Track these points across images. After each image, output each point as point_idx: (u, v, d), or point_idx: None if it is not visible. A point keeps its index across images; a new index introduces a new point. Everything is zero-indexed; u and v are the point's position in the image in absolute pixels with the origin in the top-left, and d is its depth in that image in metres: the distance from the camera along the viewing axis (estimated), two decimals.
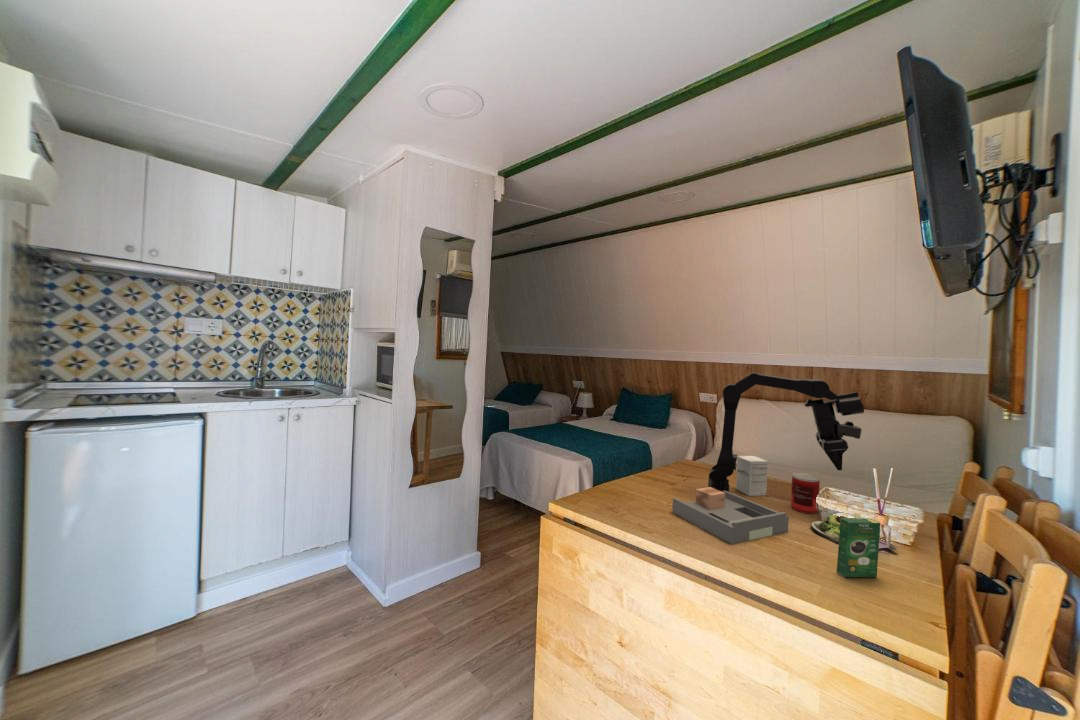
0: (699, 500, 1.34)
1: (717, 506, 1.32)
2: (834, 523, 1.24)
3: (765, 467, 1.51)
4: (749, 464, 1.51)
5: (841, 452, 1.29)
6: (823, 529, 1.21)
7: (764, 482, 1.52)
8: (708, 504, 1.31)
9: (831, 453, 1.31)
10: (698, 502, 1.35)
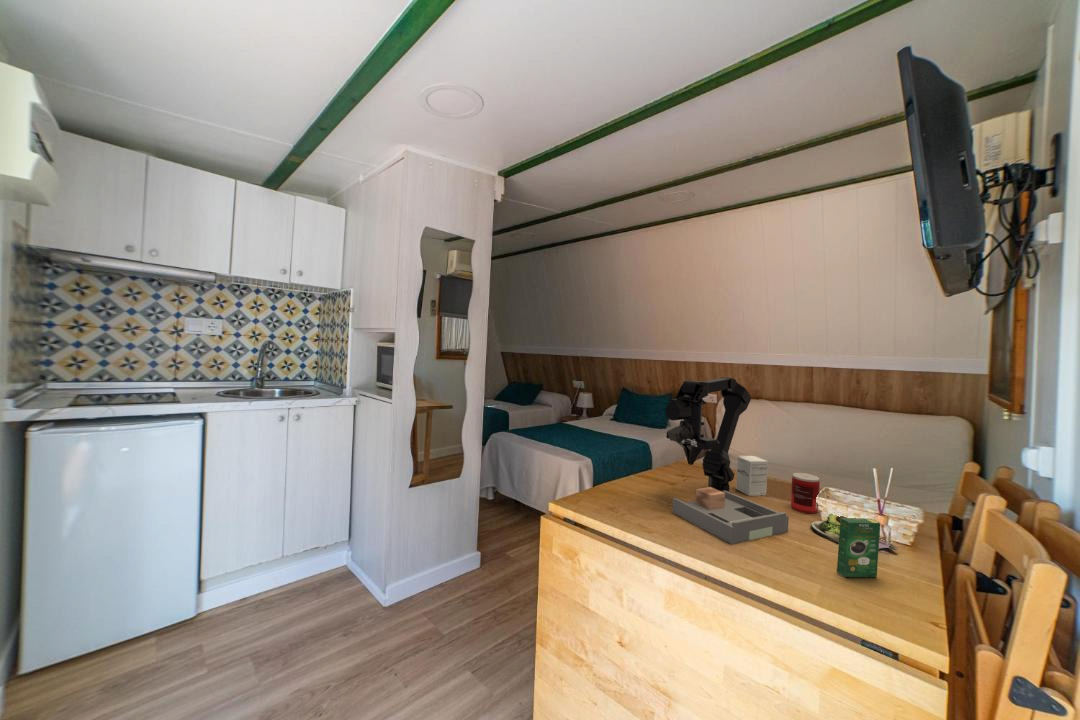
0: (699, 500, 1.34)
1: (717, 506, 1.32)
2: (834, 523, 1.24)
3: (765, 467, 1.51)
4: (749, 464, 1.51)
5: None
6: (823, 529, 1.21)
7: (764, 482, 1.52)
8: (708, 504, 1.31)
9: None
10: (698, 502, 1.35)
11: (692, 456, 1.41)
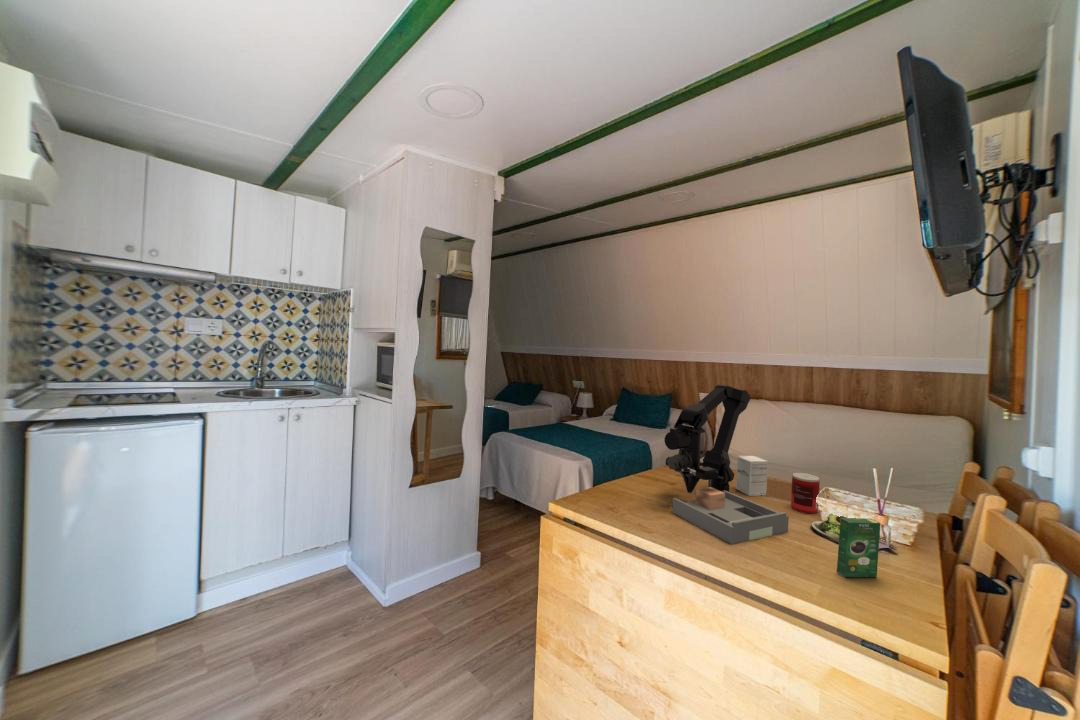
0: (699, 500, 1.34)
1: (717, 506, 1.32)
2: (834, 523, 1.24)
3: (765, 467, 1.51)
4: (749, 464, 1.51)
5: None
6: (823, 529, 1.21)
7: (764, 482, 1.52)
8: (708, 504, 1.31)
9: None
10: (698, 502, 1.35)
11: (691, 484, 1.41)
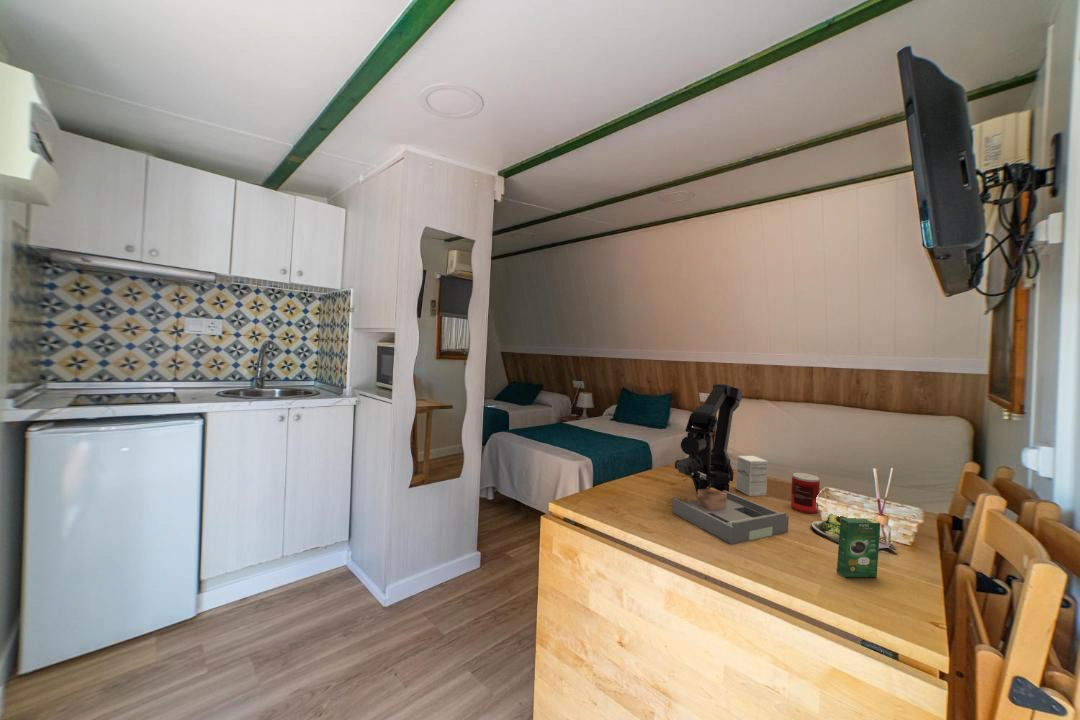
0: (700, 500, 1.34)
1: (719, 507, 1.31)
2: (834, 523, 1.24)
3: (765, 467, 1.51)
4: (749, 464, 1.51)
5: None
6: (823, 529, 1.21)
7: (764, 482, 1.52)
8: (709, 505, 1.30)
9: None
10: (699, 503, 1.34)
11: (701, 488, 1.37)
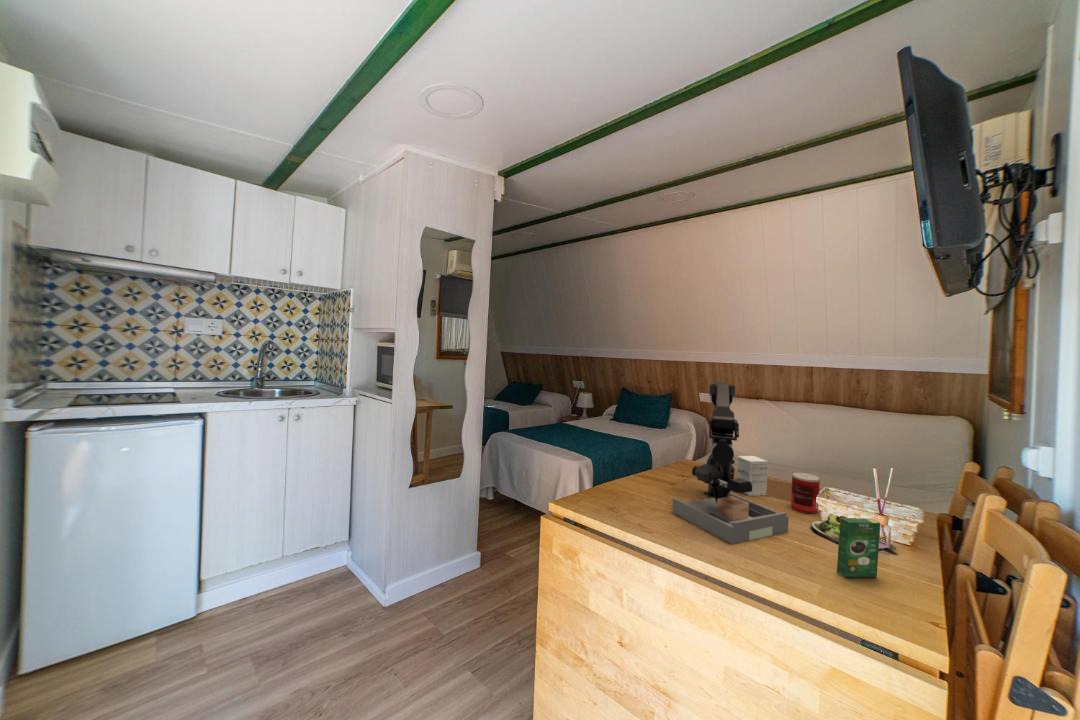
0: (720, 510, 1.26)
1: (740, 517, 1.23)
2: (834, 523, 1.24)
3: (765, 467, 1.51)
4: (749, 464, 1.51)
5: None
6: (823, 529, 1.21)
7: (764, 482, 1.52)
8: (731, 515, 1.23)
9: None
10: (719, 512, 1.27)
11: (721, 497, 1.29)
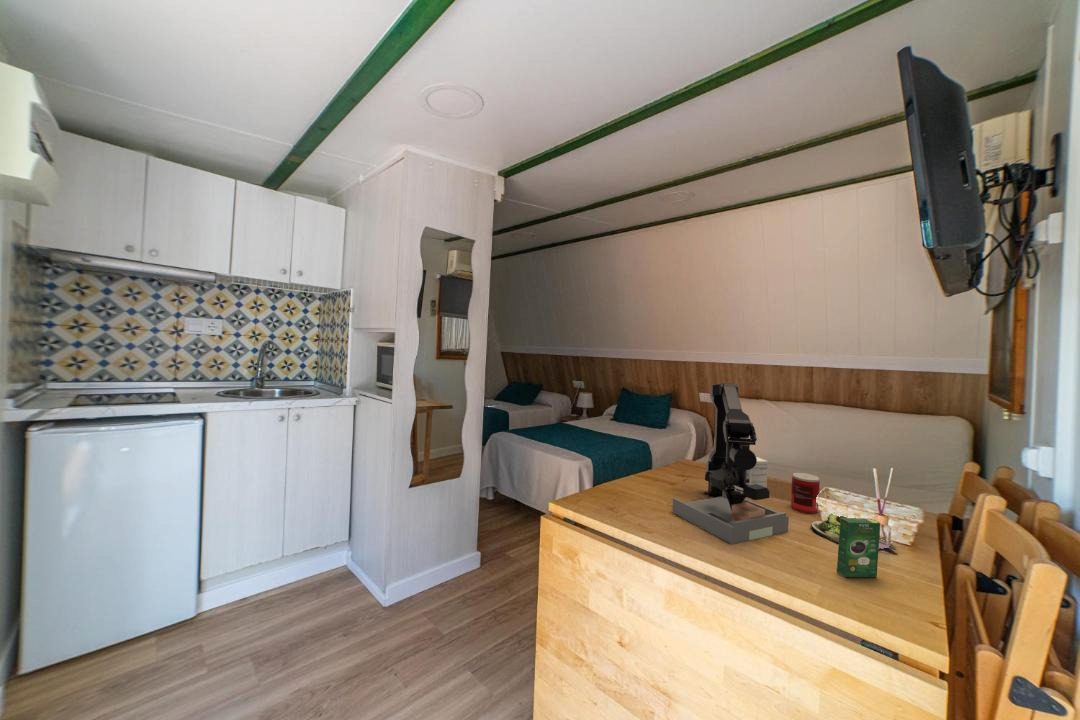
0: (735, 517, 1.21)
1: None
2: (834, 523, 1.24)
3: (765, 467, 1.51)
4: None
5: None
6: (823, 529, 1.21)
7: (764, 482, 1.52)
8: None
9: None
10: (734, 519, 1.22)
11: (736, 503, 1.24)
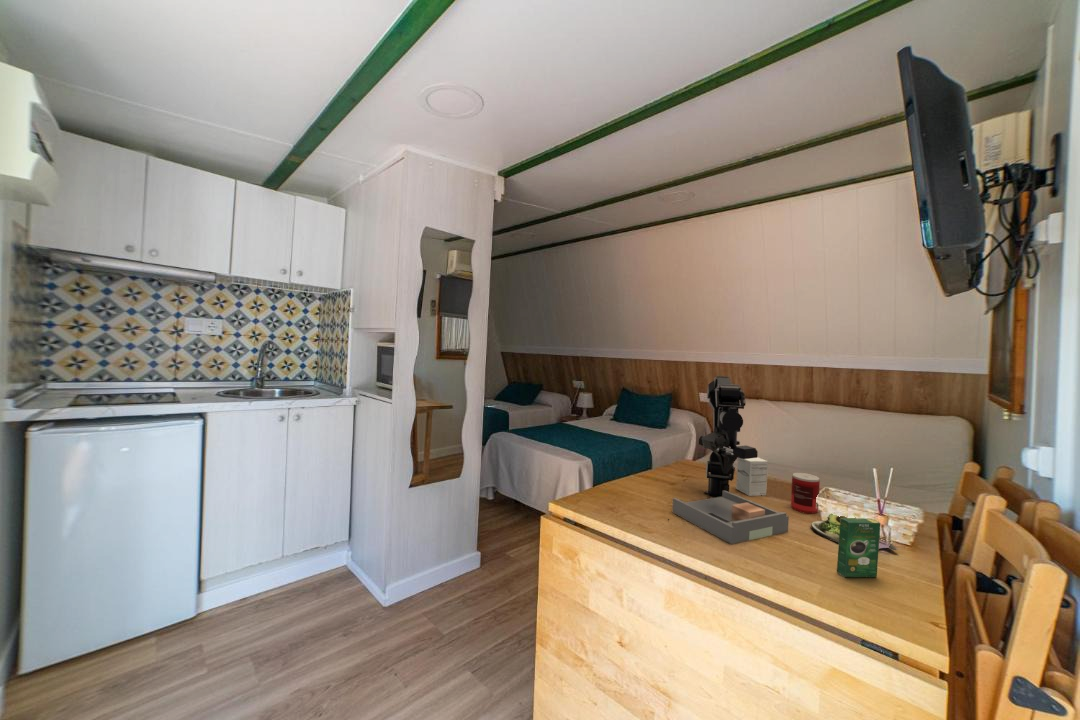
0: (735, 517, 1.21)
1: None
2: (834, 523, 1.24)
3: (765, 467, 1.51)
4: (749, 464, 1.51)
5: None
6: (823, 529, 1.21)
7: (764, 482, 1.52)
8: None
9: None
10: (734, 519, 1.22)
11: (727, 464, 1.33)
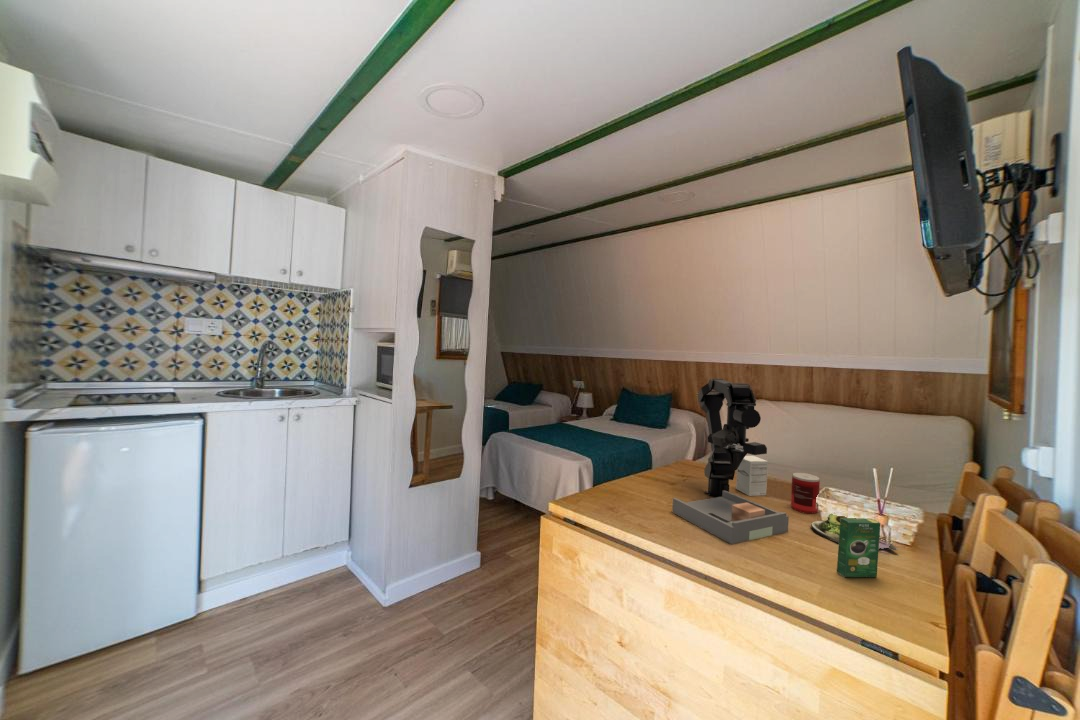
0: (735, 517, 1.21)
1: None
2: (834, 523, 1.24)
3: (765, 467, 1.51)
4: (749, 464, 1.51)
5: None
6: (823, 529, 1.21)
7: (764, 482, 1.52)
8: None
9: None
10: (734, 519, 1.22)
11: (736, 461, 1.36)
